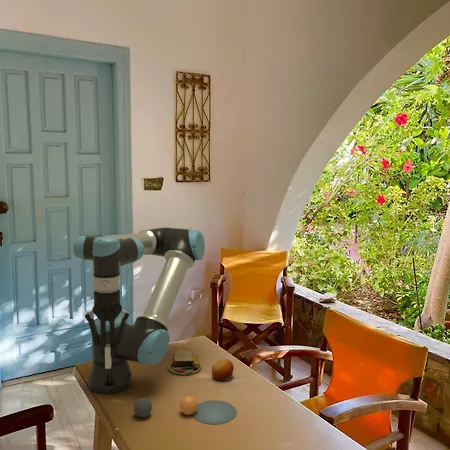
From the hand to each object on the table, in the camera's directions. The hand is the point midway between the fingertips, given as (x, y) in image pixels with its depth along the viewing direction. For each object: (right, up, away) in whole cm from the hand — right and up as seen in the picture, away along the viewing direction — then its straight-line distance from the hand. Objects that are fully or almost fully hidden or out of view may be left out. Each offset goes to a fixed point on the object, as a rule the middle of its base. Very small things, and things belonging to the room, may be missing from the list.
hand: (108, 366), depth 139 cm
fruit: (+34, -13, +30) cm, 47 cm away
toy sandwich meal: (+19, -12, +38) cm, 44 cm away
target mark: (+31, -16, +6) cm, 36 cm away
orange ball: (+24, -13, +5) cm, 28 cm away
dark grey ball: (+10, -13, +3) cm, 17 cm away
